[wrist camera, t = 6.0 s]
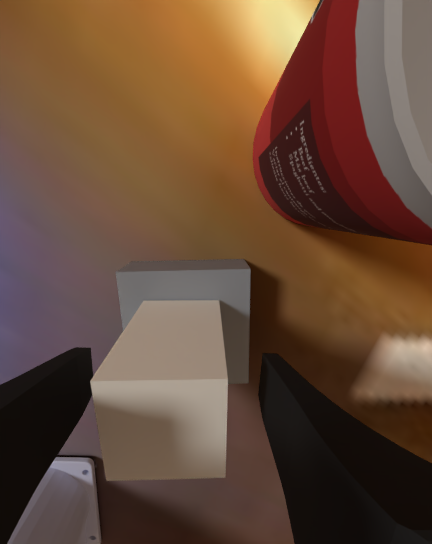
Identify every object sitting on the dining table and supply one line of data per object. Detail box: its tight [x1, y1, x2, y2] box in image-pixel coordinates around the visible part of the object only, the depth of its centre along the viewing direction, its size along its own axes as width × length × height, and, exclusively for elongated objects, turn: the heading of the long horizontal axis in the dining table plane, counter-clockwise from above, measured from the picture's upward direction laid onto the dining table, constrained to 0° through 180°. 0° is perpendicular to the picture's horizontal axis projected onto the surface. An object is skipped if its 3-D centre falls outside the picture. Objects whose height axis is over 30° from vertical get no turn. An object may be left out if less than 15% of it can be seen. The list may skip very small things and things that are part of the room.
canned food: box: [253, 0, 432, 245], centre depth 8 cm, size 8×8×11 cm
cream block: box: [90, 300, 228, 481], centre depth 10 cm, size 4×4×6 cm
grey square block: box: [116, 259, 251, 384], centre depth 15 cm, size 7×7×3 cm
